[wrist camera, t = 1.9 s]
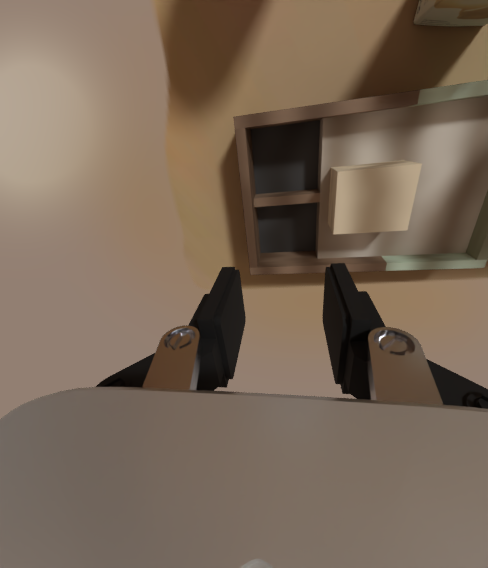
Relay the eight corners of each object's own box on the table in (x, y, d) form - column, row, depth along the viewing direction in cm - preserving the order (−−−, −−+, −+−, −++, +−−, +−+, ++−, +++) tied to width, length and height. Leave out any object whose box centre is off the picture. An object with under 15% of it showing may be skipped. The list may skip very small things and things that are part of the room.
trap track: (513, 81, 23) (565, 68, 19) (457, 250, 32) (484, 268, 27) (241, 120, 28) (233, 116, 24) (254, 258, 36) (250, 274, 32)
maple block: (403, 160, 25) (422, 163, 22) (392, 219, 28) (407, 230, 25) (331, 167, 26) (337, 171, 23) (327, 223, 29) (333, 234, 26)
